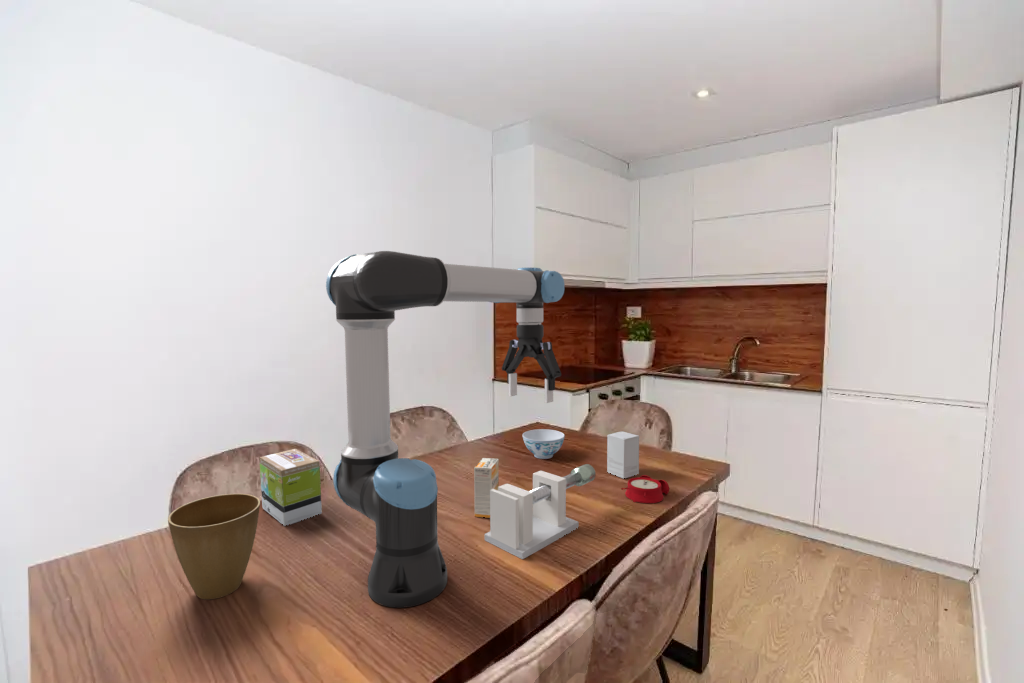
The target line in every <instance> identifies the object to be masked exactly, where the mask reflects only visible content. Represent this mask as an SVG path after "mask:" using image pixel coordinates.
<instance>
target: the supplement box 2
mask: <svg viewBox="0 0 1024 683" xmlns="http://www.w3.org/2000/svg"><path fill="white" fill-rule="evenodd" d="M606 438H607V444H606V445H607V446H606V447H607V448H606V449H607V450H606V452H607V453H606V460H607V462H606V467H607V468H606V469H607V470H606V473H607V472H608V473H607V474H610V473H611V475H613V476H615V475H616V477H618V478H621V479H624V478H625V479H627V478H631V477H634V475H635V476H638V475H639V474H640V435H638V434H634V433H630V432H626V431H623V430H622V431H617V432H613V433H609V434H607V436H606ZM637 474H638V475H637Z"/></svg>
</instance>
